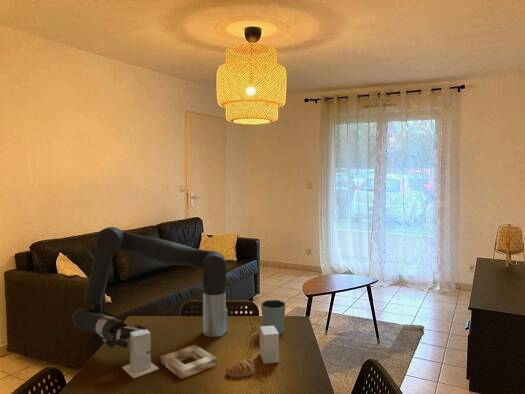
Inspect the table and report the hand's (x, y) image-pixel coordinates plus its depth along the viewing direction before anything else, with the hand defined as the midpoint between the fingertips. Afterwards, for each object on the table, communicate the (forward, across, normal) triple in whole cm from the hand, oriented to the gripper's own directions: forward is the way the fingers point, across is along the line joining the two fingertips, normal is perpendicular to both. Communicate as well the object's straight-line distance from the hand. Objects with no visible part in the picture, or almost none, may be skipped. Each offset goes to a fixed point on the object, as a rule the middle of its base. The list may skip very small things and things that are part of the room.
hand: (137, 340), depth 138 cm
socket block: (+12, +12, +9) cm, 19 cm away
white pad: (+1, 0, +9) cm, 9 cm away
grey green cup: (+18, +53, +10) cm, 57 cm away
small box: (+31, +33, +10) cm, 46 cm away
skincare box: (+1, 0, +9) cm, 9 cm away
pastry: (+30, +20, +10) cm, 37 cm away
